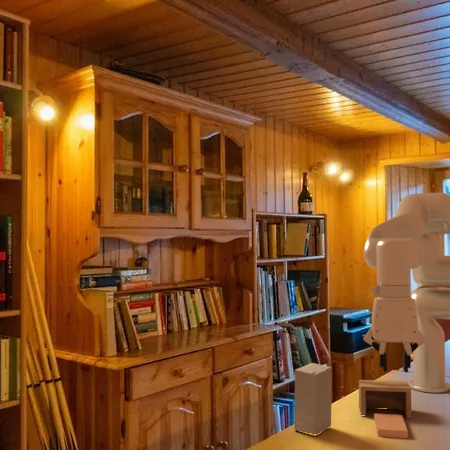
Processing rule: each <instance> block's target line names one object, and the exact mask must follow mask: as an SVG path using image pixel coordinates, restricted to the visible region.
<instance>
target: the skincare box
mask: <svg viewBox="0 0 450 450" xmlns="http://www.w3.org/2000/svg"><path fill="white" fill-rule="evenodd" d="M332 372H333V367H332V366H328V365H322V364H318V363H315V362H311V363H307V364H306V365H304V366H300V367H298V368H296V369H295V370H294V425H293V426H294V431H295V430H297V431H302V432H307V433H312V434H318V433H320V432H321V431H323V430H325V429H326V428H328V427H330V426H331V427H332V391H333V389H332V385H333V384H332V383H333V382H332V379H333V376H332V375H333V373H332ZM331 427H330V428H331ZM328 429H329V428H328ZM325 431H326V430H325Z"/></svg>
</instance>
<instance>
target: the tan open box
mask: <svg viewBox="0 0 450 450" xmlns="http://www.w3.org/2000/svg"><path fill="white" fill-rule="evenodd" d="M359 408H360V409H359ZM366 408H387V409H399V410H398V411H402V412H403V411H404V412H403V413H405V414H404V416H405V415H406V416H405V418H406V419H407V418H412V388H410V386H409V382H408V381H406V380H405V381H403V380H402V381H401V380H374V379H373V380H370V379H368V380H367V379H358V409H359V413H360V412H361V414H360V416H361V415H366V416H367V412H366V410H367V409H366Z"/></svg>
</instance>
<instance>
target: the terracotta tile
mask: <svg viewBox="0 0 450 450" xmlns="http://www.w3.org/2000/svg"><path fill="white" fill-rule="evenodd" d="M373 421H375V422H374V426H375V425H376V426H375V430H377V431H376V435H378V436H377V437H380V436H388V437H387V438H397V437H400V439H408V437H409V432H408V429H407V426H406V422H405V420H404V417H403V415H402V414H394V413H393V414H392V413H390V414H389V413H373Z"/></svg>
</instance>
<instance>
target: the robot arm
mask: <svg viewBox="0 0 450 450" xmlns="http://www.w3.org/2000/svg"><path fill="white" fill-rule="evenodd" d="M449 234H450V195H449V194H448V193H446V192H420V193H418V192H417V193H410V194H408V195H406V196H404V197H403V198H402V199H401V200H400V203H399V205H398V207H397V210H396V212H395V215H394V217H392V218H389V219H387V220H385V221H384V222H381V223H380V224H378V225H376V226H375V227H373V228H372V229H371V231H370V232H369V234H368V236H367V238H366V241H365V244H364V247H363V260H364V262H365V263H366V265H367V266H368V267H371V268H372V269H376V285H375V286H371V287H370V293H373V294H376V297H374V298H373V304H372V312H371V326H370V327H369V329H368V331H367V332H366V334H365V335H364V337H363V341H364V342H365V343H367V344H368V345H370V346H372V347H373V349H374V350H376V351H377V352H378V355H379V356H378V357H379V358H378V359H379V363H378V364H379V368H382V371H383V372H384V373H386V372H387V371H388V364H387V363H388V360H387V358H388V357H387V353H386V346H387V345H386V344H387V343H402V344H403V348H404V350H403V353H402V370H403V372H405V373H406V374H407V373H408V372H409V369H411V366H412V365H413V379H411V380H410V381H408V384H409V386H410V388H411V390H415V391H418V392H423V393H424V392H425V393H431V394H432V393H437V394H438V393H447V392H449V391H450V383H448V382H446V344H445V343H446V339H445V337H446V336H445V331H444V329H443V327H442V326H441V325H440V323H439V322H438V321H437V320H450V255H442V254H441V253H440V250H441V249H440V240H439V238H438V237H437V235H449ZM411 271H412V277H413V281H414V283H416V284H417V285H420V286H426V287H420V288H416V289H414V290H413V291H411ZM427 286H430V287H427ZM432 287H433V288H432ZM434 287H435V288H434ZM437 287H438V288H437ZM439 287H449V288H439ZM372 338H373V339H372ZM411 356H412V360H413V364H412V363H411ZM411 364H412V365H411Z"/></svg>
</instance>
